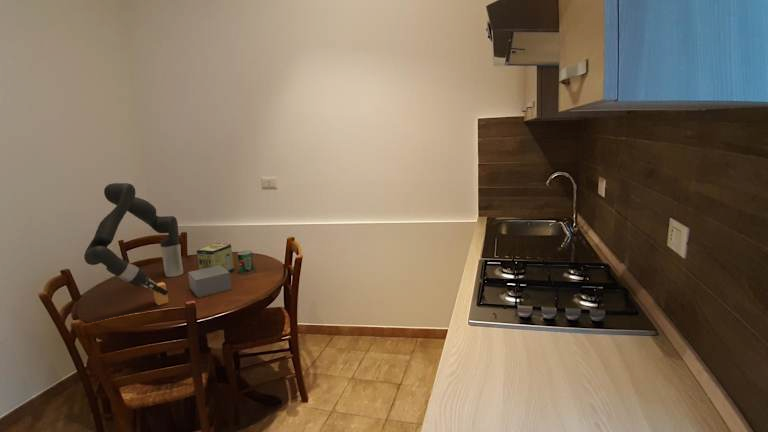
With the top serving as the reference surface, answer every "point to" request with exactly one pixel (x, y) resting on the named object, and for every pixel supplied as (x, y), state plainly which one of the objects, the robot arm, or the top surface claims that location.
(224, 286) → the storage box
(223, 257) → the protein box
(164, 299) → the orange block
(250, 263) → the canned tomato
